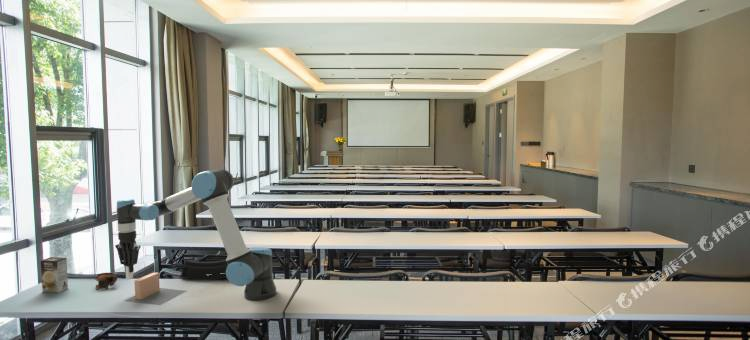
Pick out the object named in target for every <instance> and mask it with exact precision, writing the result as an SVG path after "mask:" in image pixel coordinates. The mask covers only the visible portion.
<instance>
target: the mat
mask: <svg viewBox="0 0 750 340" xmlns="http://www.w3.org/2000/svg"><path fill="white" fill-rule="evenodd" d="M186 292H187V290H183V289H182V290H181V289H173V288H165V287H164V288H163V287H160V291H158V292H156V293H154V294H151V295H149V296H147V297H145V298H143V299H141V300H139V299H135V295H133V296H132V297H129V298H128V299H125V300H124V302H130V303H131V302H132V303H137V304H138V303H140V304H146V305H154V306H161V305H163V304H165V303H167V302H169V301H171V300H172V299H175V298H177V297H178V296H180V295H183V294H184V293H186Z"/></svg>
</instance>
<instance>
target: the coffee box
mask: <svg viewBox="0 0 750 340" xmlns="http://www.w3.org/2000/svg"><path fill="white" fill-rule="evenodd" d="M67 260H68V259H67V257H59V256H58V257H57V256H54V257H53V256H50V257H48V258H45V259H41V260H40V271H41V273H40V275H41V289H42V290H41V291H42V293H58V294H59V293H61V292H63V291H65V290H68V289H69V279H68V277H69V276H68V263H67V262H68V261H67Z"/></svg>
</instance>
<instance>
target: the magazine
mask: <svg viewBox="0 0 750 340" xmlns="http://www.w3.org/2000/svg"><path fill="white" fill-rule="evenodd" d="M227 266H228V264H227V262H226V259H224V260H219V261H196V260H195V261H193V260H189V259H185V260H184V262H183V265H182V269H181V272H180V273H181V274H180V278H183V279H184V278H185V279H193V280H207V281H209V280H212V281H213V280H222V279H227V276H226V270H227ZM220 273H225V274H220ZM206 274H212V275H209V276H207V275H206Z"/></svg>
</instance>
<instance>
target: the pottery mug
mask: <svg viewBox="0 0 750 340" xmlns="http://www.w3.org/2000/svg"><path fill="white" fill-rule="evenodd" d="M117 280H118V276H117V275H115V273H114V272H102V273H98V274H97V277H95V281H96V282H98V284H95V289H96V290H100V289H101V290H102V289H103V290H106V289H109V287H112V286H114V284H115V283H116V282H117Z"/></svg>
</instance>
